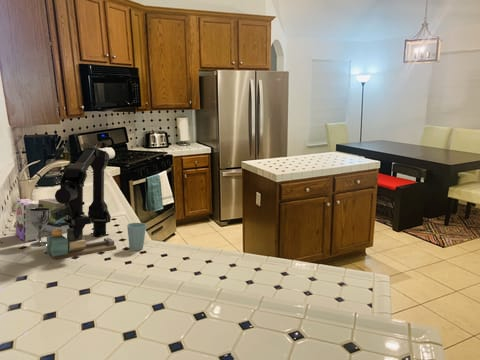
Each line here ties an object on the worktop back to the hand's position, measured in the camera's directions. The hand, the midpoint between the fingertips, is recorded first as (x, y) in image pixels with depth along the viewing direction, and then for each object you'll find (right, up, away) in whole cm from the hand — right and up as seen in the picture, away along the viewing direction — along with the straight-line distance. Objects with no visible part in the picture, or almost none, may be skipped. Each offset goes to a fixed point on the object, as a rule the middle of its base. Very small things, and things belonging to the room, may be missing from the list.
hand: (74, 237), depth 142 cm
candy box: (-29, -3, +16) cm, 33 cm away
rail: (+2, -6, +3) cm, 6 cm away
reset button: (-5, +2, -5) cm, 7 cm away
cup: (+22, -6, +9) cm, 24 cm away
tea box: (-23, -1, +31) cm, 39 cm away
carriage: (0, -4, +1) cm, 4 cm away
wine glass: (-18, -4, +8) cm, 21 cm away
